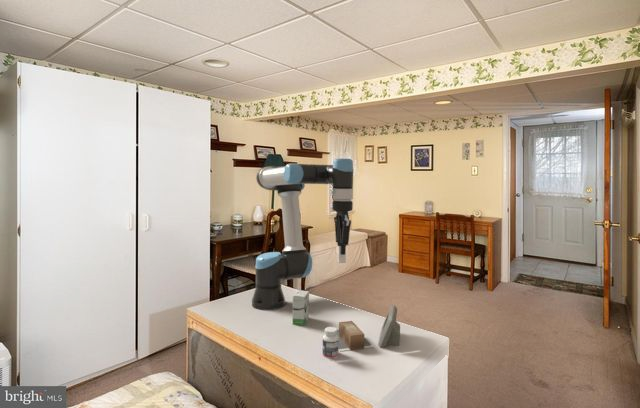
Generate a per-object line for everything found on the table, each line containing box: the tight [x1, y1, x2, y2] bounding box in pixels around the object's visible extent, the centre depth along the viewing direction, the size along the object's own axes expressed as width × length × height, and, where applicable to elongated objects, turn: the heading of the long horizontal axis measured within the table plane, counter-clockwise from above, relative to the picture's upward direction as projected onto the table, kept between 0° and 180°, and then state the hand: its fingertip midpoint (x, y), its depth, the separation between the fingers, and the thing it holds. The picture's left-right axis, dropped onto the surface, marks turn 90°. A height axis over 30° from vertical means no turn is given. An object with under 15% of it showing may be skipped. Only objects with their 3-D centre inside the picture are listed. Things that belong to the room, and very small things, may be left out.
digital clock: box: [377, 305, 401, 349], centre depth 129 cm, size 16×9×11 cm, turn 154°
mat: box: [337, 329, 374, 352], centre depth 129 cm, size 17×12×1 cm
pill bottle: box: [322, 326, 340, 359], centre depth 117 cm, size 5×5×9 cm
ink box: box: [292, 289, 310, 326], centre depth 145 cm, size 9×5×12 cm, turn 168°
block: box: [338, 320, 365, 351], centre depth 127 cm, size 5×5×12 cm
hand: (341, 262), depth 136 cm, fingers closed
